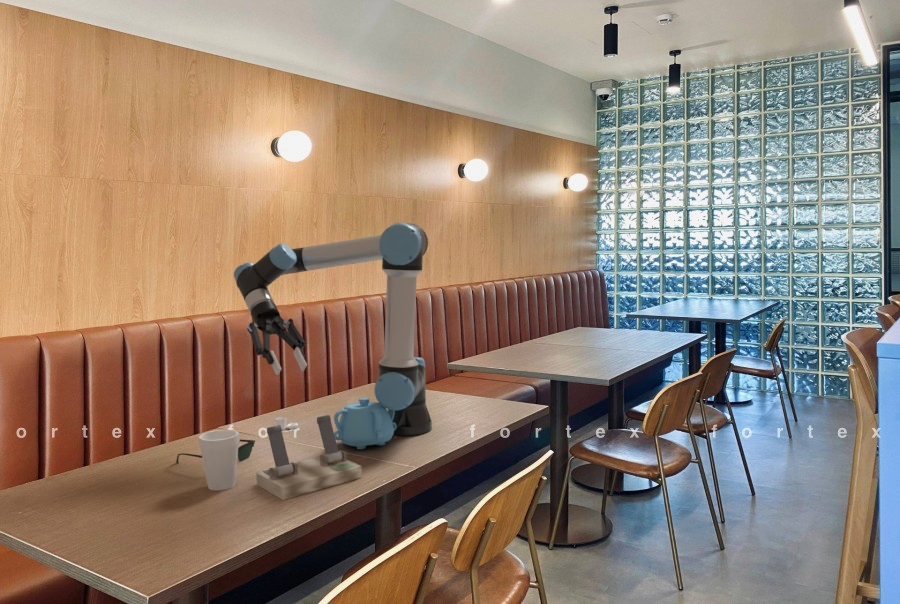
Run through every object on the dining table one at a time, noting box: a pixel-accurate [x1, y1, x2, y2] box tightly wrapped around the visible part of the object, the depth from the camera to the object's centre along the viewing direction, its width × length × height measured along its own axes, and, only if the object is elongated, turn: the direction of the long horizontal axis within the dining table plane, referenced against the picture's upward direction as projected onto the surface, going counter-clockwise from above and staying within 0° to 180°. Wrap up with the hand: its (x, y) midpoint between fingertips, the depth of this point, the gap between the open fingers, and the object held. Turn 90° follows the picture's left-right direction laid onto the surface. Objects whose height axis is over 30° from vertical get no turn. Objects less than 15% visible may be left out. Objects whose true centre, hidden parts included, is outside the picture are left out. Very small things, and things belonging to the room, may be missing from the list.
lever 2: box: [316, 414, 342, 463], centre depth 181 cm, size 4×2×12 cm, turn 130°
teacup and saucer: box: [272, 416, 299, 434], centre depth 223 cm, size 9×8×4 cm
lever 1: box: [266, 425, 293, 477], centre depth 172 cm, size 4×2×12 cm, turn 130°
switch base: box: [255, 449, 363, 501], centre depth 176 cm, size 22×14×5 cm, turn 130°
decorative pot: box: [333, 397, 397, 450], centre depth 205 cm, size 16×16×14 cm
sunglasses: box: [175, 438, 256, 464], centre depth 193 cm, size 16×17×5 cm
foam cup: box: [198, 429, 240, 492], centre depth 173 cm, size 10×9×13 cm
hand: (291, 369), depth 194 cm, fingers open, 7 cm apart
